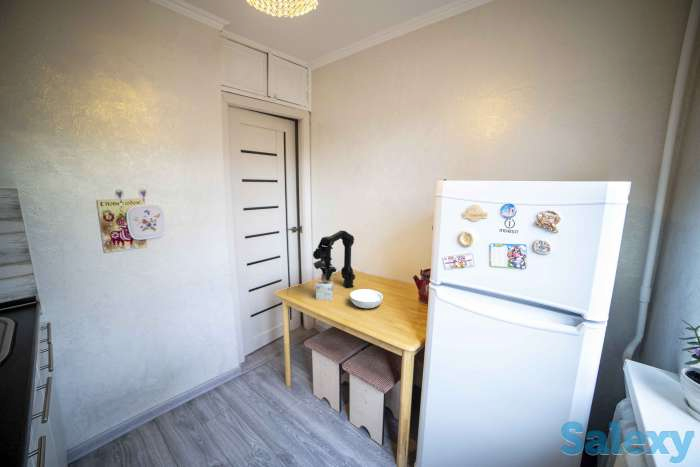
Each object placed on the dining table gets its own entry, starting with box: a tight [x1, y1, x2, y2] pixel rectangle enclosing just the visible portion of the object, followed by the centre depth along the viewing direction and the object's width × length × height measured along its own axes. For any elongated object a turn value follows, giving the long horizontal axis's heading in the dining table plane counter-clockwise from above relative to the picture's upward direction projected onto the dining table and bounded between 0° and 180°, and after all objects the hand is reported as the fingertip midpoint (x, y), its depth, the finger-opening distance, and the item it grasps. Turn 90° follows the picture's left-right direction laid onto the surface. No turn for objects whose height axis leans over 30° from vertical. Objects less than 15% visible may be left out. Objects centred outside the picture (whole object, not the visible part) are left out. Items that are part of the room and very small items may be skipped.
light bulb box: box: [315, 281, 334, 301], centre depth 184 cm, size 11×7×11 cm, turn 84°
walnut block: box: [320, 273, 332, 282], centre depth 183 cm, size 5×5×4 cm
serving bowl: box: [349, 288, 384, 309], centre depth 176 cm, size 21×21×7 cm
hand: (326, 279), depth 183 cm, fingers closed on walnut block, 5 cm apart
